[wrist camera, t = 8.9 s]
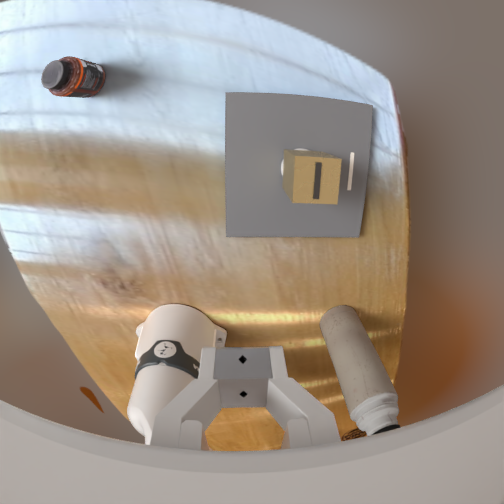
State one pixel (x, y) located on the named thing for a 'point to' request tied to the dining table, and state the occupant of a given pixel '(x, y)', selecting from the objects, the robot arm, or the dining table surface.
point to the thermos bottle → (360, 372)
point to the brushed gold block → (311, 176)
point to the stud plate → (272, 156)
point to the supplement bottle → (73, 77)
